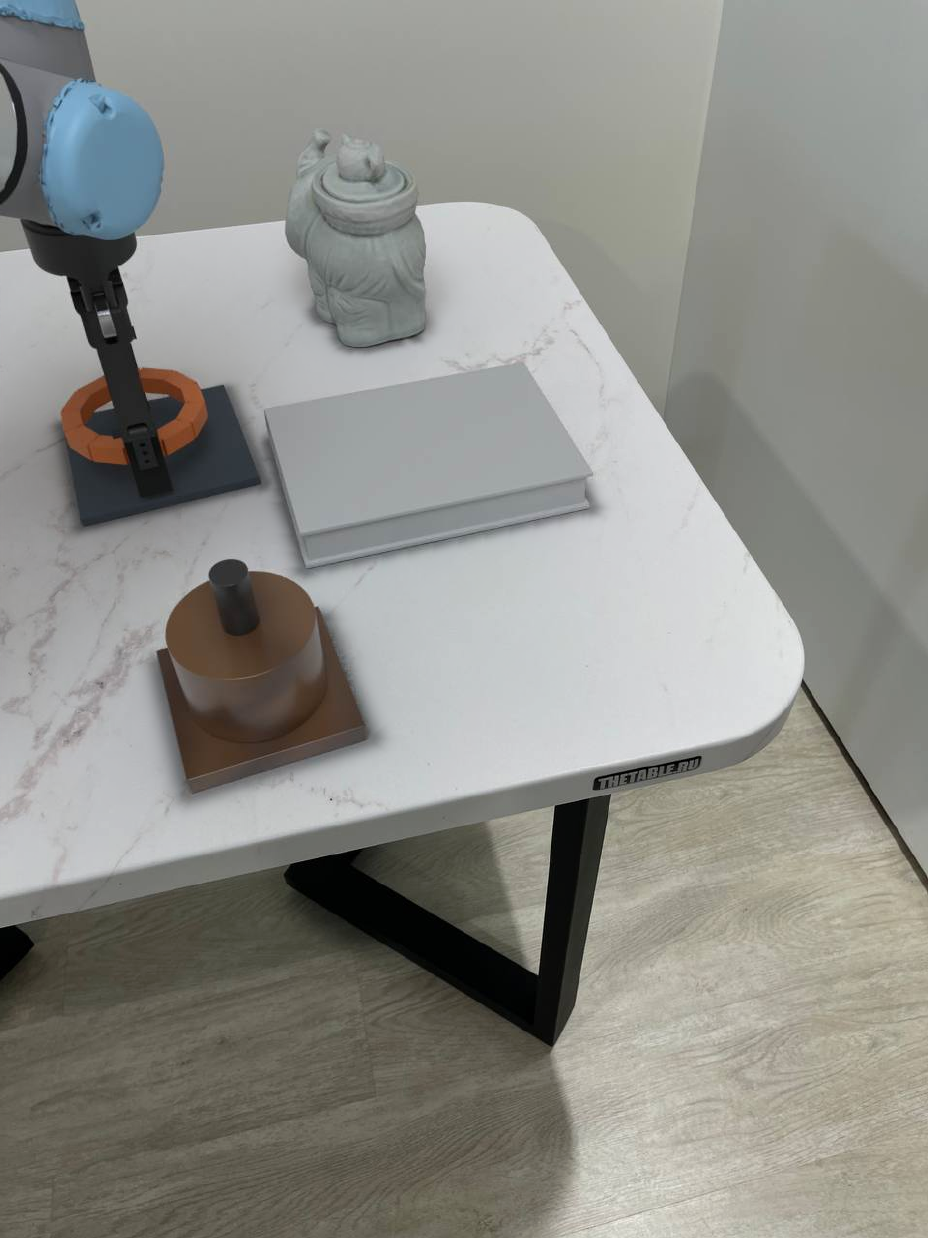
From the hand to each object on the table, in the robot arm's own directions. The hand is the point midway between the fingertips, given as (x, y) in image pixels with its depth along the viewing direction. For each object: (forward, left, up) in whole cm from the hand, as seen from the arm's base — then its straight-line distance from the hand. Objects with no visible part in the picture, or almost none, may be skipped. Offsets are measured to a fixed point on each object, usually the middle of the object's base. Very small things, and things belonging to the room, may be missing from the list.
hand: (145, 449), depth 88 cm
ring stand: (+3, -30, -1) cm, 30 cm away
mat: (+1, +1, -1) cm, 2 cm away
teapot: (+25, +18, -2) cm, 31 cm away
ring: (0, 0, +3) cm, 3 cm away
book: (+22, -10, -2) cm, 24 cm away
